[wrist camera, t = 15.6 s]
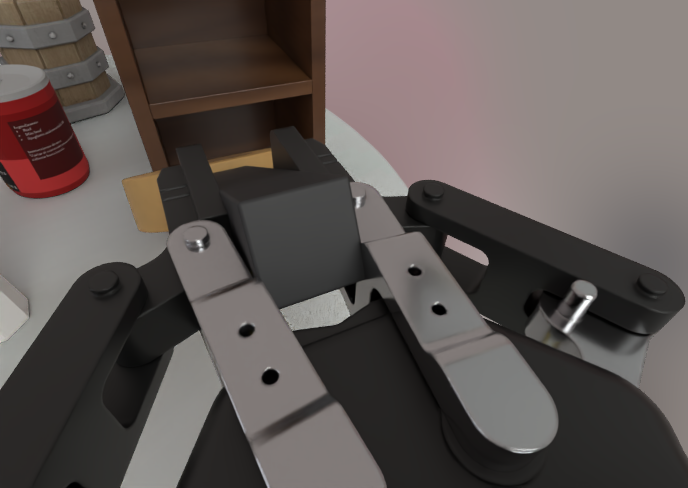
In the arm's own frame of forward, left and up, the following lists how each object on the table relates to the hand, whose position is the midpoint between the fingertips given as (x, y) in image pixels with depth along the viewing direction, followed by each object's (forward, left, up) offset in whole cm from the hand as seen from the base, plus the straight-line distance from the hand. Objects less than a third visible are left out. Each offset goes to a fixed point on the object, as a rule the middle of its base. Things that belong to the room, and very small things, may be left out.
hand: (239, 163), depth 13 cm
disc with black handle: (-2, +2, -4) cm, 5 cm away
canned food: (-35, +15, -20) cm, 43 cm away
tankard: (-49, +27, -20) cm, 60 cm away
